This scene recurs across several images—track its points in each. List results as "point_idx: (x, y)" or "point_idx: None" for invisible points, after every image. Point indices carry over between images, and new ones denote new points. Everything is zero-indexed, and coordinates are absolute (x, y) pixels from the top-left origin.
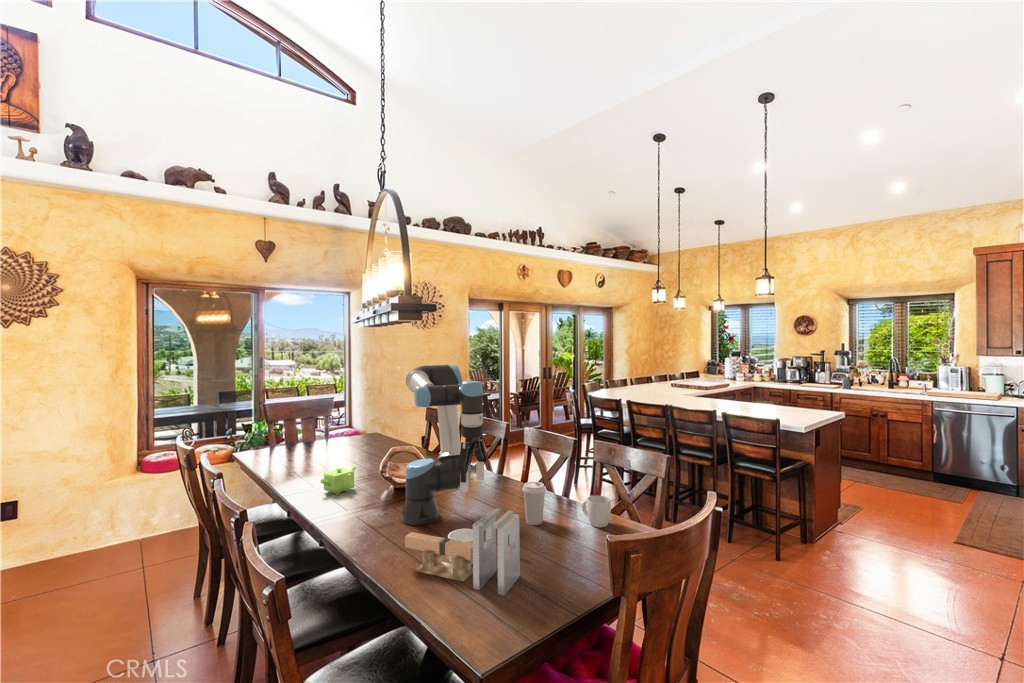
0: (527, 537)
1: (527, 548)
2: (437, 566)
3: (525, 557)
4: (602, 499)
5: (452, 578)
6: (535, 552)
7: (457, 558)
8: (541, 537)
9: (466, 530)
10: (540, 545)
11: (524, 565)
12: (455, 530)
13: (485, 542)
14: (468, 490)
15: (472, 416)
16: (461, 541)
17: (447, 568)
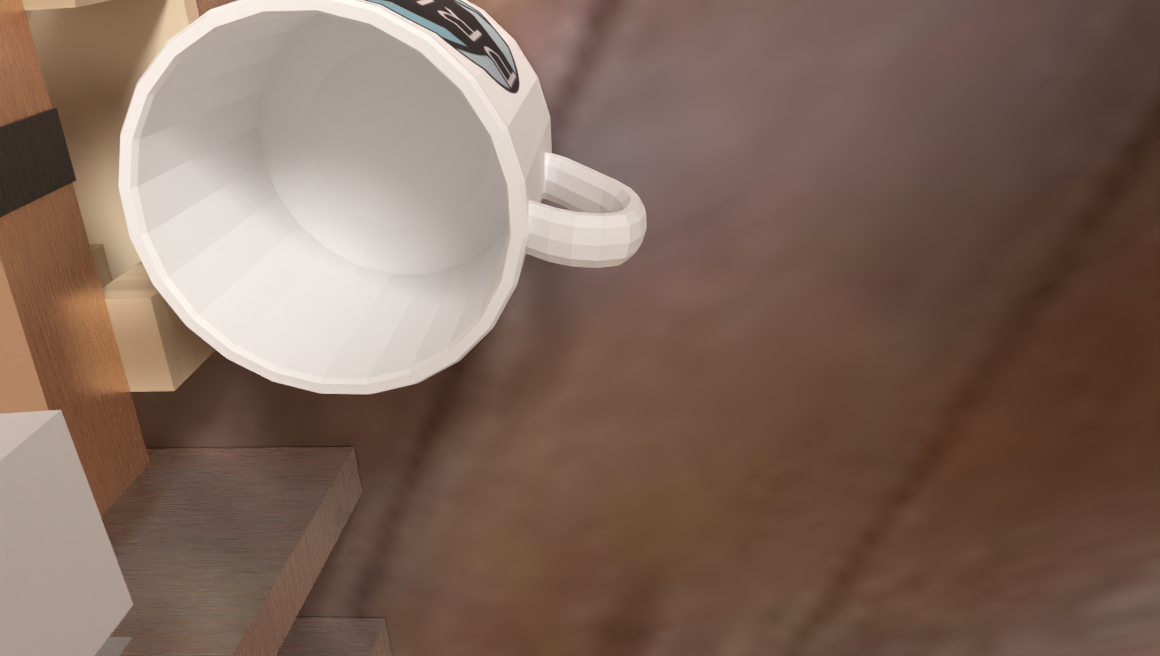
0: (1104, 499)
1: (856, 571)
2: (84, 7)
3: (682, 606)
4: None
5: None
6: (803, 647)
7: None
8: (1139, 609)
9: (493, 146)
10: (956, 645)
11: (551, 638)
12: (377, 25)
13: (109, 643)
14: (119, 619)
15: None
16: (27, 370)
17: (114, 126)
